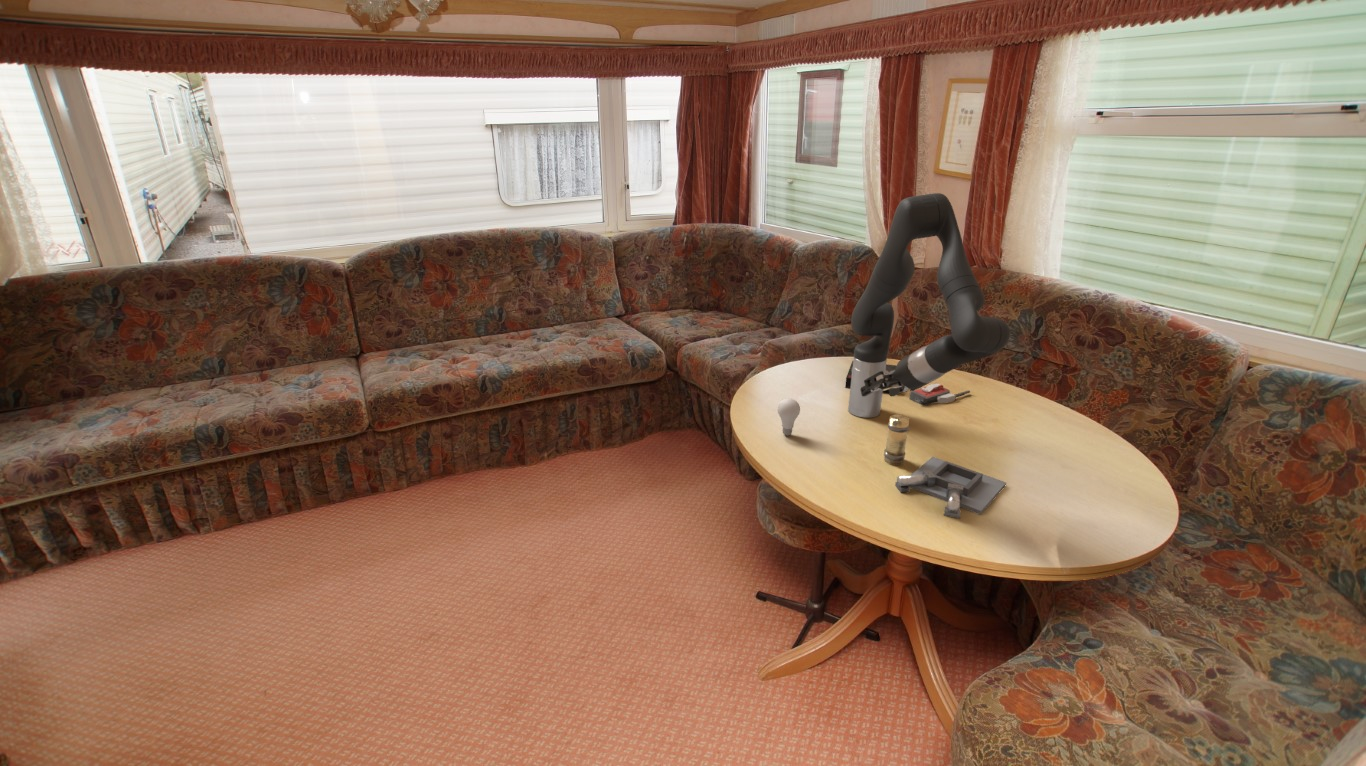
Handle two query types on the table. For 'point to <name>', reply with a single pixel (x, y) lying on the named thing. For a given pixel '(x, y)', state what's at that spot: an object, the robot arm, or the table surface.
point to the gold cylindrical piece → (896, 439)
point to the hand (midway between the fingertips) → (876, 392)
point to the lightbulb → (788, 414)
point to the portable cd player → (888, 369)
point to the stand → (975, 484)
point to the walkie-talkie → (933, 395)
